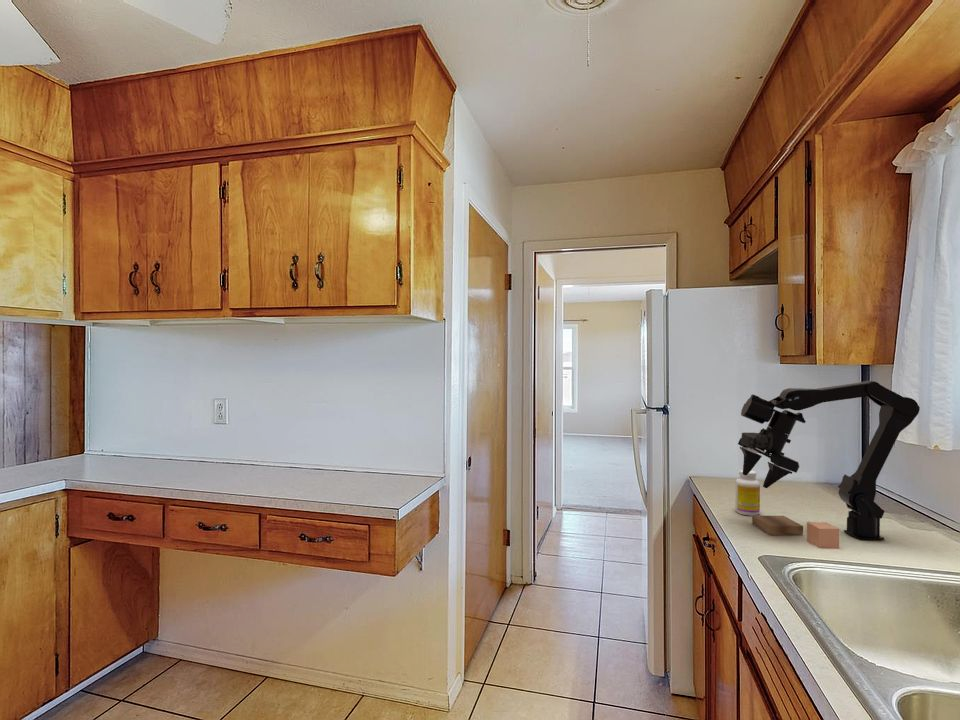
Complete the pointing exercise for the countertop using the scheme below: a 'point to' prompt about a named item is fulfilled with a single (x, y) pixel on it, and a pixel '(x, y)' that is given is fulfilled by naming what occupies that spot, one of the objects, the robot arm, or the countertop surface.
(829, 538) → the cube
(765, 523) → the brown block
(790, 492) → the countertop surface
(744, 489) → the supplement bottle
